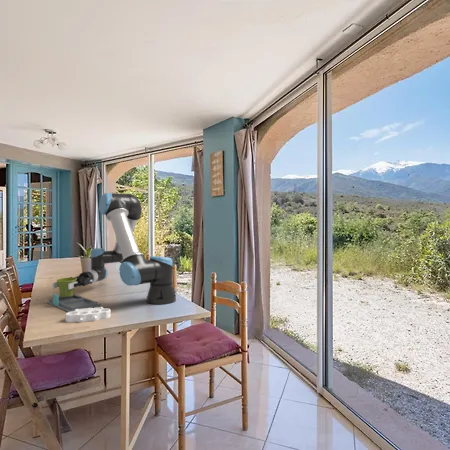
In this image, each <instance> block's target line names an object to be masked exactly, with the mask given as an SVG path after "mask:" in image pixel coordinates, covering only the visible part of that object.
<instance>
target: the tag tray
mask: <svg viewBox="0 0 450 450" xmlns="http://www.w3.org/2000/svg"><path fill="white" fill-rule="evenodd" d="M59 295H60V294H58V293H57V294H56V293H52V297H51V298H49V300H46V303H47V304H48V305H51V306H53V307H55V308H58V309H60V310H62V311H64V312H66V313H68V312H71V311H75V309H84V308H93V307H94V308H96V307H98V306H99V307H102V306H101V304H100V303H98V301H96V300H93V299H89V298H85V297H84V296H81V295H78V294H75V293H74V295H73V296H71V297H69V296H67V297H61V296H59Z"/></svg>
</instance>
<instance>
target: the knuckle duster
mask: <svg viewBox="0 0 450 450" xmlns="http://www.w3.org/2000/svg"><path fill="white" fill-rule="evenodd" d="M111 312H112V311H111V308H107V307H106V308H104V306H99V307H94V308H84V309H75V311H71V312H65V322H67V323H77V322H78V323H85V321H86V322H94V321H99V320H103V319H104V320H105V319H109V318H111Z"/></svg>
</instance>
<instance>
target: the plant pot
mask: <svg viewBox="0 0 450 450" xmlns="http://www.w3.org/2000/svg"><path fill="white" fill-rule="evenodd" d="M76 280H77V278H73V277H72V278H69V277H61V278H58V279H56V282H58V285H59V287H58V290H59V295H60V296H59V297H67V296H69V297H71V296H73V295H74V294H75V288H72V289H68V284H70V283H73V282H76Z"/></svg>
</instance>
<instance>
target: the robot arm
mask: <svg viewBox="0 0 450 450" xmlns="http://www.w3.org/2000/svg"><path fill="white" fill-rule="evenodd" d="M98 204H99V205H98V210H99V213H100V214H101V215H102V216H105V218H106V220H107V221H109V222H111V226H112V229H113V232H114V234H115V238H116V240H115V244H114V246H113V250H105V249H104V248H101V247H99V248H92V249H91V250H90V269H89V270H87V271H83V272H81V273H79V275H78V276H75V277H72V276H70V277H68V278H77V280H76V282H73V283H70V284H68V289H72V288H74V289H76V288H78V287H85V286H89V285H92V284H93V283H94V284H95V283H97V282H100V281H103V280H105V279H106V278H107V277H108V275H109V273H108V270H107V268H106V267H105V265H106V264H115V263H120V265H119V267H118V268H119V276H120V280H121V281H122V282H123V284H125V285H127V286H131V287H132V286H139V285H145V284H149V289H148V292H147V296H146V303H148V304H151V305H167V304H171V303H174V302H176V301H177V295H176V292H175V289H174V284H173V281H174V280H173V278H174V277H173V275H174V274H173V266H174V265H173V259H172V258H171V257H167V256H158V255H153V256H150V257H149V259H146V256H145V254H143V253H142V252H140V250H139V247H138V244H137V240H136V238H135V236H134V231H135V229H136V228H135V227H136V225H137V223H138V222H137V221H139V220H140V219H141V216H142V211H143V207H142V203H141V201H140V200H139V199H138V197H137V196H135V195H134V194H131V193H116V192H104V193H103V194H102V195H101V196H100V199H99V203H98ZM57 288H59V285H58V282H57V281H56V282H52V283H51V289H57Z"/></svg>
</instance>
